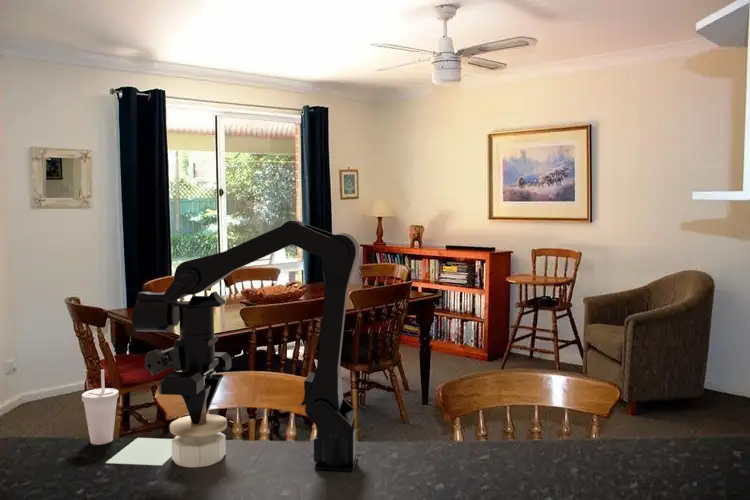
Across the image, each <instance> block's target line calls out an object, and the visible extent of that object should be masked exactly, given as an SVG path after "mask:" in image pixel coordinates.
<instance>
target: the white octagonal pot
mask: <svg viewBox="0 0 750 500" xmlns="http://www.w3.org/2000/svg"><path fill="white" fill-rule="evenodd" d="M172 439H173V440H172V456H171V459H172V461H173V463H175V465H178V466H179V467H184V468H202V467H208V466H211V465H214V464H217V463H219V462H220V461H222V460H223V459H224V457H225V455H226V454H227V453H226V452H227V447H226V445H227V443H226V441H227V440H226V434H224V433H222V431H221V432H219V433H216V434H213V435H209V436H203V437H180V436H176V435H175V437H174V438H172Z"/></svg>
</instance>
